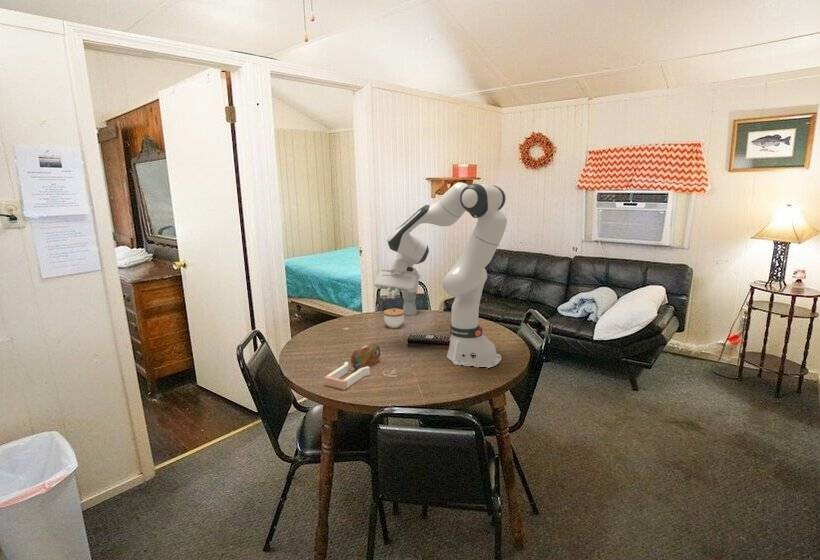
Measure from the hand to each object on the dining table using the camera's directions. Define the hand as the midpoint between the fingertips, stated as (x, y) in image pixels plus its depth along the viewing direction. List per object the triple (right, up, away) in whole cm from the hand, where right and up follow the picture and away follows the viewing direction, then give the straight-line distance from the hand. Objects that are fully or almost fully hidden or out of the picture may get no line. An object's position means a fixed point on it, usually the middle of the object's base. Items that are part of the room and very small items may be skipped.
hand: (390, 297), depth 189 cm
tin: (-9, -27, -12) cm, 31 cm away
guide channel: (-16, -30, -24) cm, 42 cm away
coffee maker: (+7, -11, +57) cm, 59 cm away
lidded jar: (0, -16, +36) cm, 39 cm away
